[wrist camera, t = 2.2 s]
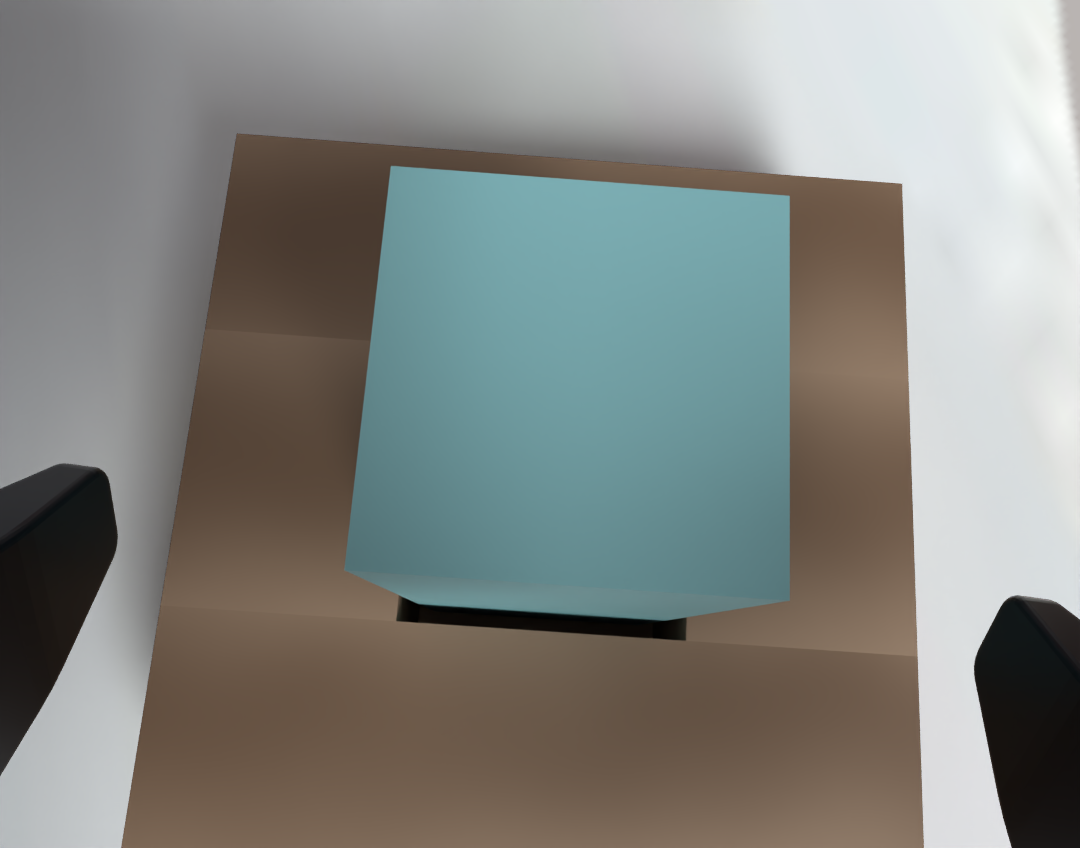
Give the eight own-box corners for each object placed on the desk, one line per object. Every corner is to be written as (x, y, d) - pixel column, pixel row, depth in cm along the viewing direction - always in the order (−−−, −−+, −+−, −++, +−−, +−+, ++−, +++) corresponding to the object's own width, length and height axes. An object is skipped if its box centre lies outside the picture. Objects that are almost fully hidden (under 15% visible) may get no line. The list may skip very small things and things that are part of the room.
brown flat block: (833, 852, 17) (925, 911, 14) (207, 812, 17) (118, 860, 13) (826, 271, 20) (902, 184, 16) (289, 232, 20) (236, 133, 16)
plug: (638, 625, 18) (789, 600, 8) (434, 611, 18) (343, 569, 8) (645, 427, 19) (790, 195, 9) (452, 413, 19) (391, 165, 9)
